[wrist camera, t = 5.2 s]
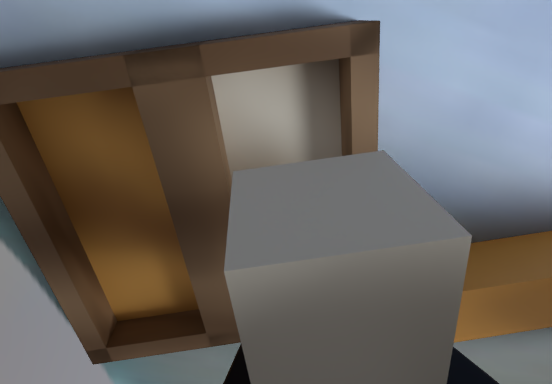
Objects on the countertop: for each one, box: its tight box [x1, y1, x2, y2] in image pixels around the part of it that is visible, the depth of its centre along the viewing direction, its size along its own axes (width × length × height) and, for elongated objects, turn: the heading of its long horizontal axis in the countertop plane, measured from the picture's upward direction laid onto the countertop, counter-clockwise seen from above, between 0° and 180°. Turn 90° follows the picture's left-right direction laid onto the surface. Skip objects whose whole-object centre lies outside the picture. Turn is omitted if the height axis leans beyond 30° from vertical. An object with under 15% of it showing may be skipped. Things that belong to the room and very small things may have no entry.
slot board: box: [0, 20, 380, 364], centre depth 15 cm, size 14×14×2 cm
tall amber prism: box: [454, 231, 552, 342], centre depth 18 cm, size 9×4×4 cm, turn 97°
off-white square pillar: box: [224, 150, 472, 384], centre depth 8 cm, size 9×4×4 cm, turn 7°
